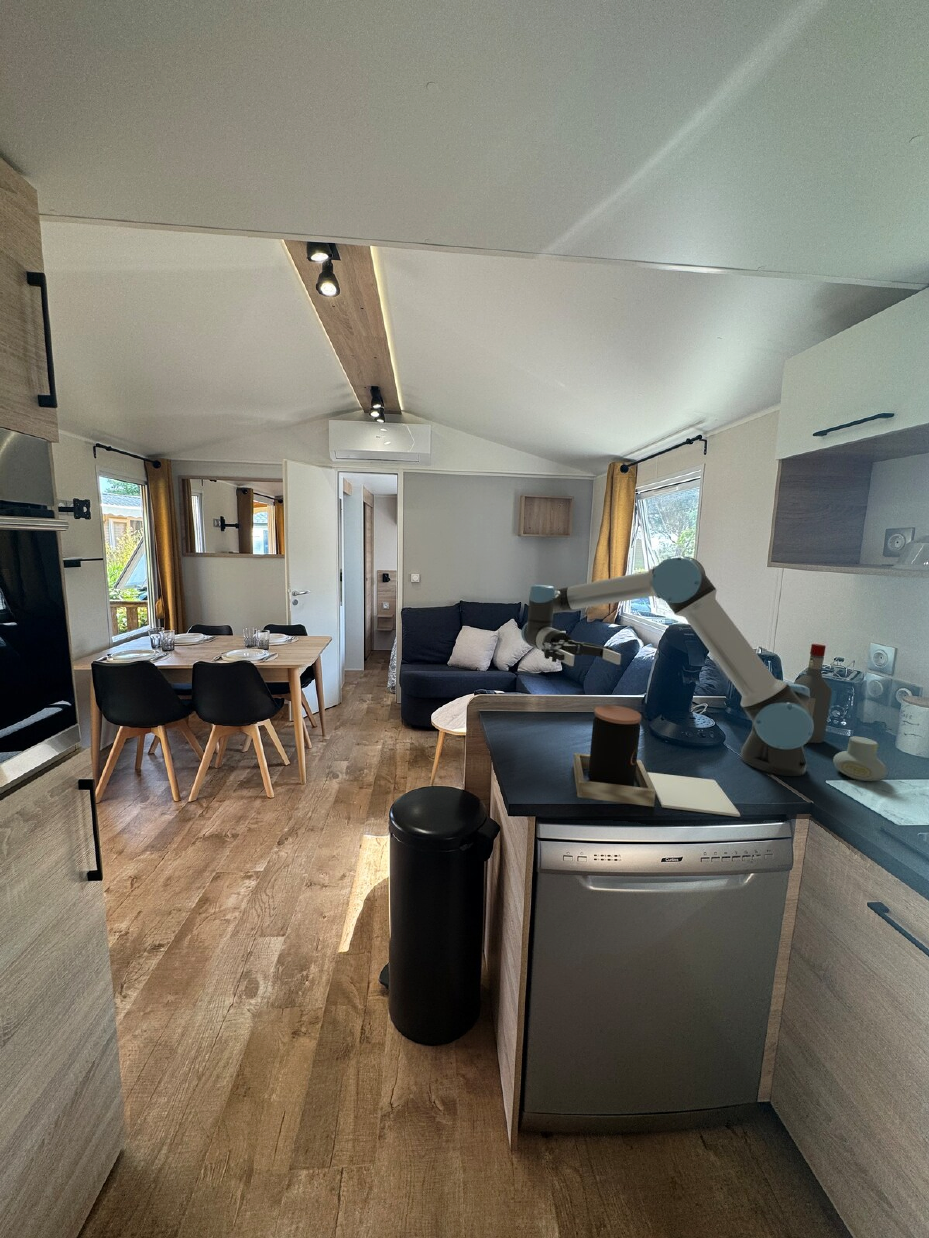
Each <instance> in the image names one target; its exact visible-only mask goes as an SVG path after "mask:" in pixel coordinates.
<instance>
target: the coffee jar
mask: <svg viewBox="0 0 929 1238" xmlns="http://www.w3.org/2000/svg"><path fill="white" fill-rule="evenodd" d="M593 714H594V715H595V716H594V717H593V721H592V732H591V741H590V749H589V750H590V753H589V754H590V760H589V769H588V773H587V778H588V781H591V782H599V783H607V784H616V785H624V786H632V787H635V781H636V775H635V773H636V764H637V760H638V754H639V753H638V752H639V746H640V745H639V744H640V734H641V724H640V722H641V721H642V714H641V713H640V712H638V711H636V710H635V709H633V708H629V707H625V706H619V705H613V704H612V705H610V704H606V705H605V704H604V705H603V704H602V705H599V706H596V707H594V710H593Z"/></svg>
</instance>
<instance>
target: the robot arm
mask: <svg viewBox="0 0 929 1238" xmlns="http://www.w3.org/2000/svg"><path fill="white" fill-rule="evenodd" d="M717 590H718V589H717V588H716V587H715V586H714V584H713V582H711V580H710V579H709V577H708V576H707V575H706V570H705V568H704V566H703V565H702V563H700V561H698V560H696V558H693V557H690V556H684V555H672V556H670V557H669V556H668V557H667V558H665V559H663V560H662V561H661V562H659V564H657V565H654V566H653V565H652V566H651V568H649V570H647V571H642V572H637V573H631V574H626V575H621V576H616V577H613V578H612V577H611V578H607V579H602V580H597V581H592V582H588V583H582V584H576V585H572V586H568V587H566V586H565V587H561V588H557V589H555V587H554V586H553V585H547V584H533V585H531V587H530V591H529V595H528V611H527V612H528V616H527V622H526V623H524V625H523V627H522V628H521V633H520V634H521V638H522V640H523V641H524V642H525V643H526V644H527V645H529V646H530V647H532V648H535V649H538V650H539V651H541V652H542V653H543V656H544V659H546V660H549V659H550V658H551V662H552V663H556V662H557V661H559V662H561V663H563V664H565V665H567V666H569V667H574V663H575V656H582V655H585V656H593V657H598V658H602V659H603V660H605V661H608V662H610V663H613V664H614V665H621V660H622V654H621V653H619V652H616V651H614V650H613V647H611V646H609V645H606V646H604V645H599V644H595V643H589V642H586V641H581V642H579V641H575V640H573V639H572V638H571V635H569V633H566V632H564V631H561V630H560V629H556V628H553V619H554V614H558V613H563V612H568V611H573V610H579V609H584V608H585V609H586V608H590V607H595V606H602V605H608V604H613V603H620V602H627V601H632V600H637V599H643V598H648V597H649V598H650V597H655V598H656V599H661V600H663V601H664V602H666V604H667V605H668V607H669V608H670V610H671V611H672V612H673V613H674V615H675V616H677V617H678V616H679V617H683V618H684V619H685V620H686V621H687V622H688V624H689V625H690V627H691V628H692V630H693V631H694V632H695V634H696V635H697V636H698V637H699V639H700V640H701V642H702V643H703V644H704V646H705V647H706V648H707V650H708V651H709V653H710V654H711V655H712V657H713V658H714V660H715V661H716V662H717V664H718V665H719V666H720V668H721V670H722V671H723V672H724V673H725V675H726V676H727V677H728V679H729V681H730V682H731V683H732V684H733V685H734V688H736V690H737V692H739V694H740V696H741V700H740V706H741V708H742V709H743V711H744V712H745V714H746V715H747V716H748V717H749V719H750V720H751V722H752V725H751V732H750V733H749V735H748V737H747V739H745V742H744V744H743V746H742V748H741V750H740V759H741V760H742V761H743V762H744V763H745V764H747V765H748V766H750V767H753V768H754V769H757V770H760V771H763V772H766V773H769V774H773V775H777V776H783V777H800V776H803V775H805V774H806V769H807V760H806V757H805V756H806V755H805V751H804V745H805V744H808V743H807V742H808V741H809V739H810V738H811V736H812V734H813V730H814V722H813V718H812V716H811V715H810V712H809V710H808V701H809V698H810V690H809V688H808V687H806V686H803V685H799V684H794V682H789V681H788V682H787V681H784V680H782V679H777V678H775V676H774V675H773V674H772V672H771V671H770V670H769V668H768V667H767V665H766V664H765V663H764V661H763V660H762V659H761V657H760V655H758V654H757V652H756V651H755V649H754V648H753V647H752V645H751V644H750V643H749V642H748V640H747V639H746V638H745V636H744V635H743V634H742V632H741V631H740V630H739V628H738V627H737V625H736V624H735V622H734V621H733V620H732V619H731V617H730V616H729V615H728V614H727V612H726V611H725V609H724V608H723V607H722V606H721V604H720V602H718V601H717V599H716V595H717Z"/></svg>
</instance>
